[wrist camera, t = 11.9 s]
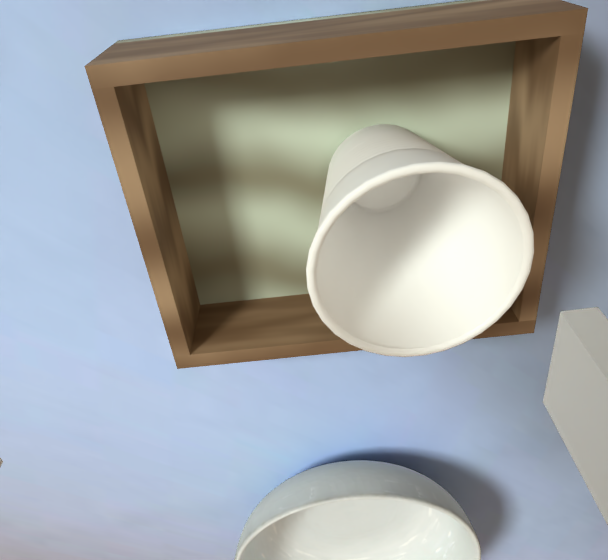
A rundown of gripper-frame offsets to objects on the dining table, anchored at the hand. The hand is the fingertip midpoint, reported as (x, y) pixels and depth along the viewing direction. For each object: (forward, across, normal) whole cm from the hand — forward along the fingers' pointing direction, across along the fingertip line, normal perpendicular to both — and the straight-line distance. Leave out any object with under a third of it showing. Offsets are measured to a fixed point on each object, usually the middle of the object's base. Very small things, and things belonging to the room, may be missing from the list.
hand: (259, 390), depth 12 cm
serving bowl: (+22, +2, -39) cm, 45 cm away
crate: (+23, +3, -6) cm, 24 cm away
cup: (+22, +6, -5) cm, 23 cm away
